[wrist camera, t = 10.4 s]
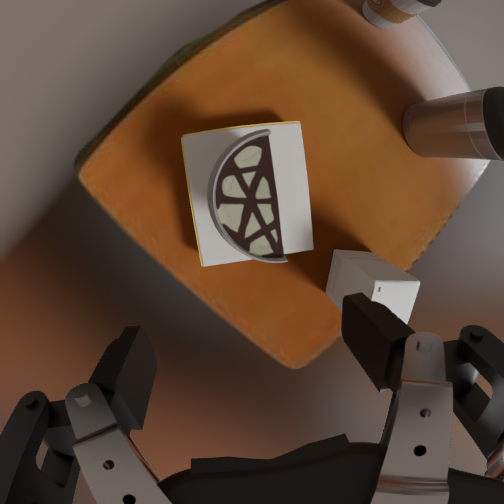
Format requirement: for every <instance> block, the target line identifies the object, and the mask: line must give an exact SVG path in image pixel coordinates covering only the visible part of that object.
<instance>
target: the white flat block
mask: <svg viewBox="0 0 504 504" xmlns="http://www.w3.org/2000/svg"><path fill="white" fill-rule="evenodd" d="M262 129H270V131H272V132H271V134H270V135H269V141H270V148H271V155H272V162H273V169H274V176H275V184H276V190H277V197H278V206H279V217H280V226H281V235H282V244H283V248H284V254H289V253H295V252H301V251H308V250H314V249H313V235H312V222H311V211H310V200H309V190H308V180H307V171H306V163H305V155H304V147H303V139H302V132H301V125H300V121H291V122H276V123H264V124H253V125H244V126H236V127H228V128H221V129H214V130H208V131H202V132H196V133H190V134H185V135H183V137H182V138H181V143H182V151H183V158H184V165H185V172H186V179H187V185H188V192H189V198H190V204H191V210H192V216H193V222H194V228H195V234H196V239H197V245H198V250H199V255H200V260H201V265H202V266H211V265H217V264H224V263H231V262H237V261H244V260H250V259H253V258H250V257H247V256H246V255H244V254H242V253H240V252H239V251H237V250H236V249H234V248H233V247H232V246H231V245H230V244H228V243H227V242H226V241H225V239H224V238H223V237H222V236H221V235H220V233H219V232H218V230H217V229H216V227H215V225H214V223H213V221H212V219H211V216H210V212H209V208H208V200H207V190H208V182H209V178H210V174H211V172H212V169H213V167H214V165H215V163H216V161H217V160H218V158H219V157H220V155H221V154H222V153H223V152H224V151H225V149H226V148H227V147H228V146H229V145H231V144H232V143H233V142H235V141H236V140H237V139H239V138H241V137H242V136H244V135H246V134H249V133H251V132H254V131H257V130H262Z"/></svg>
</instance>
